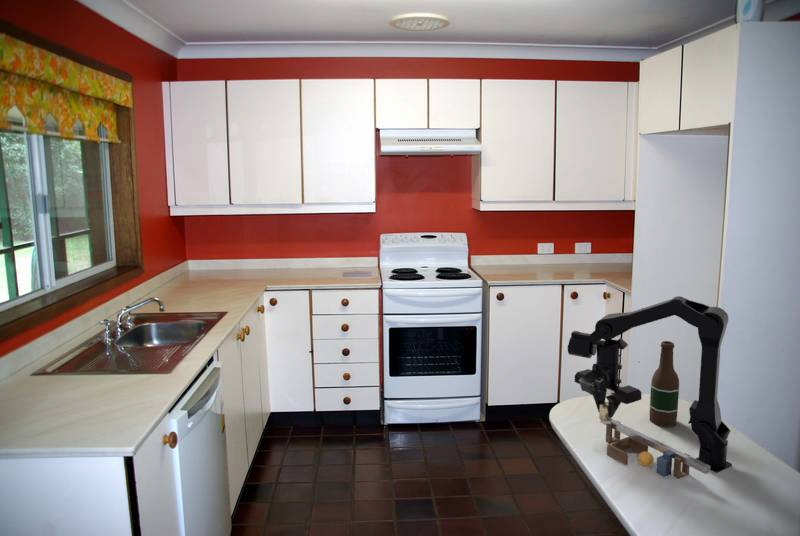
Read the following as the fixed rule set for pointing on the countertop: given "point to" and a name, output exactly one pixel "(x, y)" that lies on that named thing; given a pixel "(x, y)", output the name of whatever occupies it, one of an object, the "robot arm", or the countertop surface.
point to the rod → (653, 446)
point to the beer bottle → (664, 389)
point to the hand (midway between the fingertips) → (605, 414)
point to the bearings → (677, 461)
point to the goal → (618, 447)
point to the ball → (645, 458)
